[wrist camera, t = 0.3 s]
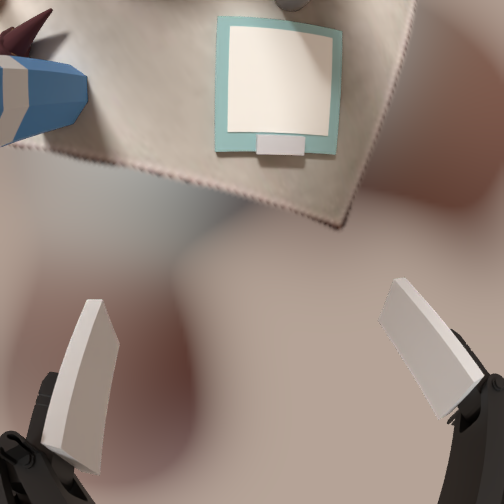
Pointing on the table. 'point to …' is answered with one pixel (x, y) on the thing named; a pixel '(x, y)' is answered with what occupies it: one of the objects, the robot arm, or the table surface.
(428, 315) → the robot arm
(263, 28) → the clipboard
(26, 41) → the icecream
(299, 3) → the marker
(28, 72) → the water bottle
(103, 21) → the table surface
